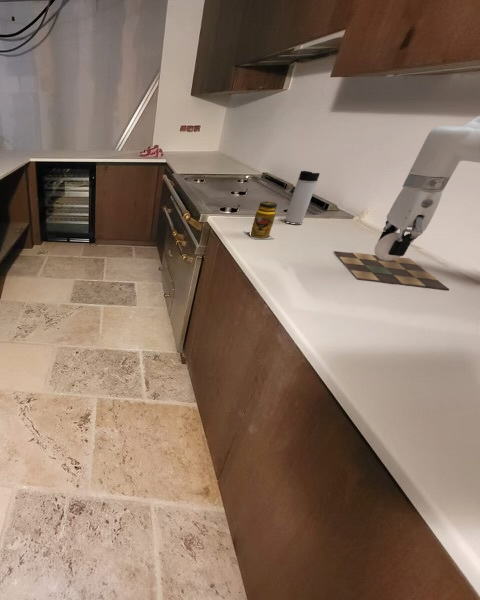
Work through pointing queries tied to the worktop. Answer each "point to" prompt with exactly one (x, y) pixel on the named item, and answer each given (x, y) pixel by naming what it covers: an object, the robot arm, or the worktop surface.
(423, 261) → the worktop surface
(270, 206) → the condiment
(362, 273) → the checkerboard
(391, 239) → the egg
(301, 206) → the travel mug
